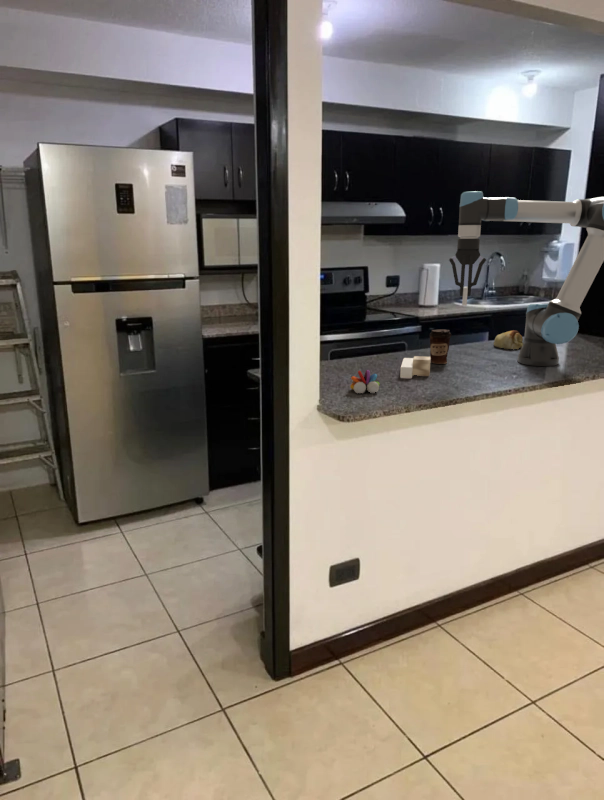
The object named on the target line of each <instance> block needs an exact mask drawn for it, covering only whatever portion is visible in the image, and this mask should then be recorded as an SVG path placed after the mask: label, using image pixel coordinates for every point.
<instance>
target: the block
mask: <svg viewBox="0 0 604 800" xmlns="http://www.w3.org/2000/svg"><path fill="white" fill-rule="evenodd" d="M412 358H413V374H412V376H414V375H417V377H419V376H420V377H430V373H431V357H430V356H423V355H421V356H419V355H414V356H413V357H412Z"/></svg>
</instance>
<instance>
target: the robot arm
mask: <svg viewBox="0 0 604 800" xmlns="http://www.w3.org/2000/svg"><path fill="white" fill-rule="evenodd" d="M459 202H460V203H459V206H458V207H459V216H458V217H459V218H458V230H457V231H458V232H457V233H458V234H457V237H458V239H457V245H456V246H457V248H456V253H454V254H455V255H454V256H452V257H450V258H449V260H448V261H449V262H450V264H451V267H452V272H453V278H454V284H455V285H456V286H458V287H459V296H460V297H462V302H461V303H462V304H461V305H462V307H463V306H465V307H466V306H468V297H470V296H471V294H472V287H474V286H476V285H477V284H478V281H479V279H480V274H481V272H482V268H483V265H484V264H485V263H486V261H487V259H486V258H485V257H484V256H482V255H481V252H480V244H481V243H480V242H481V239H480V238H479V237H481V230H482V229H481V228H482V227H481V226H482V221H483V222H490V221H491V222H492V221H493V222H523V223H524V222H526V223H547V224H548V223H551V224H569V225H570V226H571V227H576V228H577V227H579V228H585V229H586V231H587V236H586V238H585V240H584V243H583V244H582V246H581V248H580V250H579V252H578V255H577V257H576V259H575V260H574V262H573V265H572V266H571V268H570V270H569V272H568V274H567V276H566V277H565V280H564V282H563V285H562V286H561V289H559V292H558V293H557V296H556V297H555V298H554V299H552V300H550V301H549V302H548V303H537V304H536V303H534V304H533V303H531V304H529V305H528V306H527V309H526V311H525V317H526V318H525V326H524V327H525V328H524V337H523V339H524V340H523V345H522V347H521V348H520V349H519V353H518V355H517V362H518V363H520V364H522V365H526V366H527V365H528V366H533V367H553V366H554V367H555V366H557V365H559V361H560V360H559V359H560V356H559V352H558V350H557V349H558V348H557V345H564V344H567V343H569V342H570V341H572V340H573V339H574V338H575V337H576V336H577V334H578V331H579V329H580V328H579V327H580V325H579V322H578V321H579V319H580V317H581V315H582V311H581V308H580V307H581V306H582V303H583V301H584V299H585V298H586V296H587V294H588V292H589V290H590V288H591V286H592V284H593V282H594V281H595V278H596V276H597V274H598V273H599V271H600V268H601V266H602V264H603V263H604V196H603V195H602V196H597V197H593V198H584V199H583V198H582V199H581V198H579V199H574V200H573V201H555V200H554V201H553V200H552V201H551V200H524V199H523V200H521V199H520V200H519V199H517V198H516V197H509V196H505V197H503V196H502V197H501V196H500V197H498V196H497V197H484V193H483V191H478V190H477V191H476V190H475V191H463V192H462V193H461V194H460V201H459ZM477 260H478V263H479V264H478V265H477V269H476V272H475V276H474V278H473V267H474V265H475V263H476V262H477ZM457 261H458V263H460V265H461V269H460V281H459V276H458V272H457V267H456V266H457V265H456V262H457ZM466 265H467V266H468V275H467V286H465V275H466V274H465V272H466ZM472 279H473V281H472Z"/></svg>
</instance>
